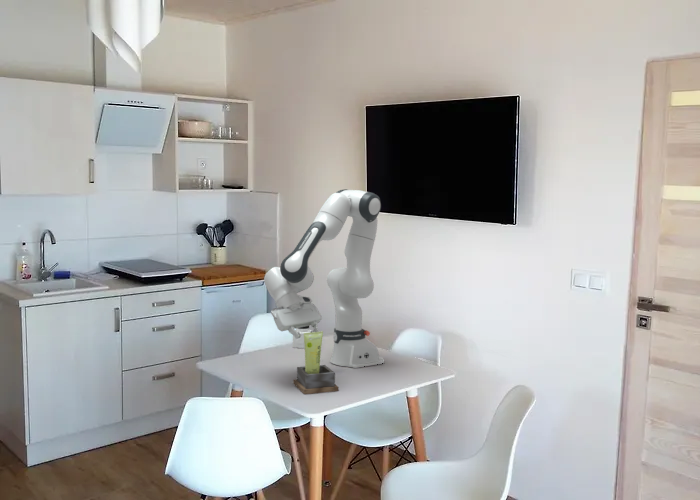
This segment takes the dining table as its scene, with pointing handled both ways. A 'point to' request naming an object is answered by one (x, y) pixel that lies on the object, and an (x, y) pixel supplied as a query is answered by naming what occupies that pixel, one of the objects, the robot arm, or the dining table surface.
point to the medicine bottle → (300, 341)
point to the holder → (315, 381)
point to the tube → (312, 351)
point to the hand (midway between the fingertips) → (308, 335)
